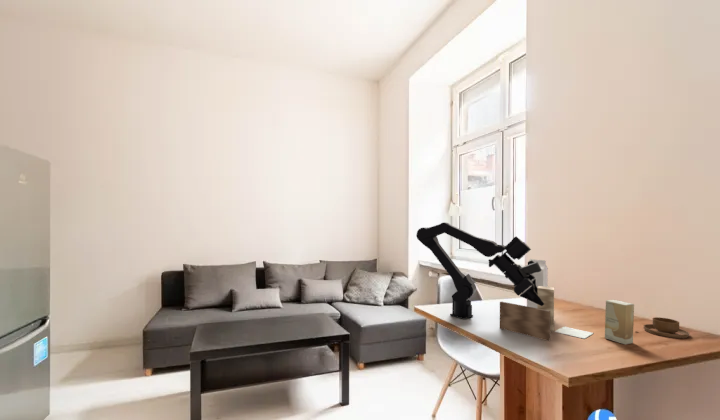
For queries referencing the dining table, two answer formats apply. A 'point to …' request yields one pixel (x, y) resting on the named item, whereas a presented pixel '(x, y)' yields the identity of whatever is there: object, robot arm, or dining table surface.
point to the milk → (539, 279)
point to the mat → (574, 332)
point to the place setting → (665, 328)
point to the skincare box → (619, 321)
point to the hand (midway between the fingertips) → (543, 302)
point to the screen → (525, 320)
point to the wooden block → (547, 302)
